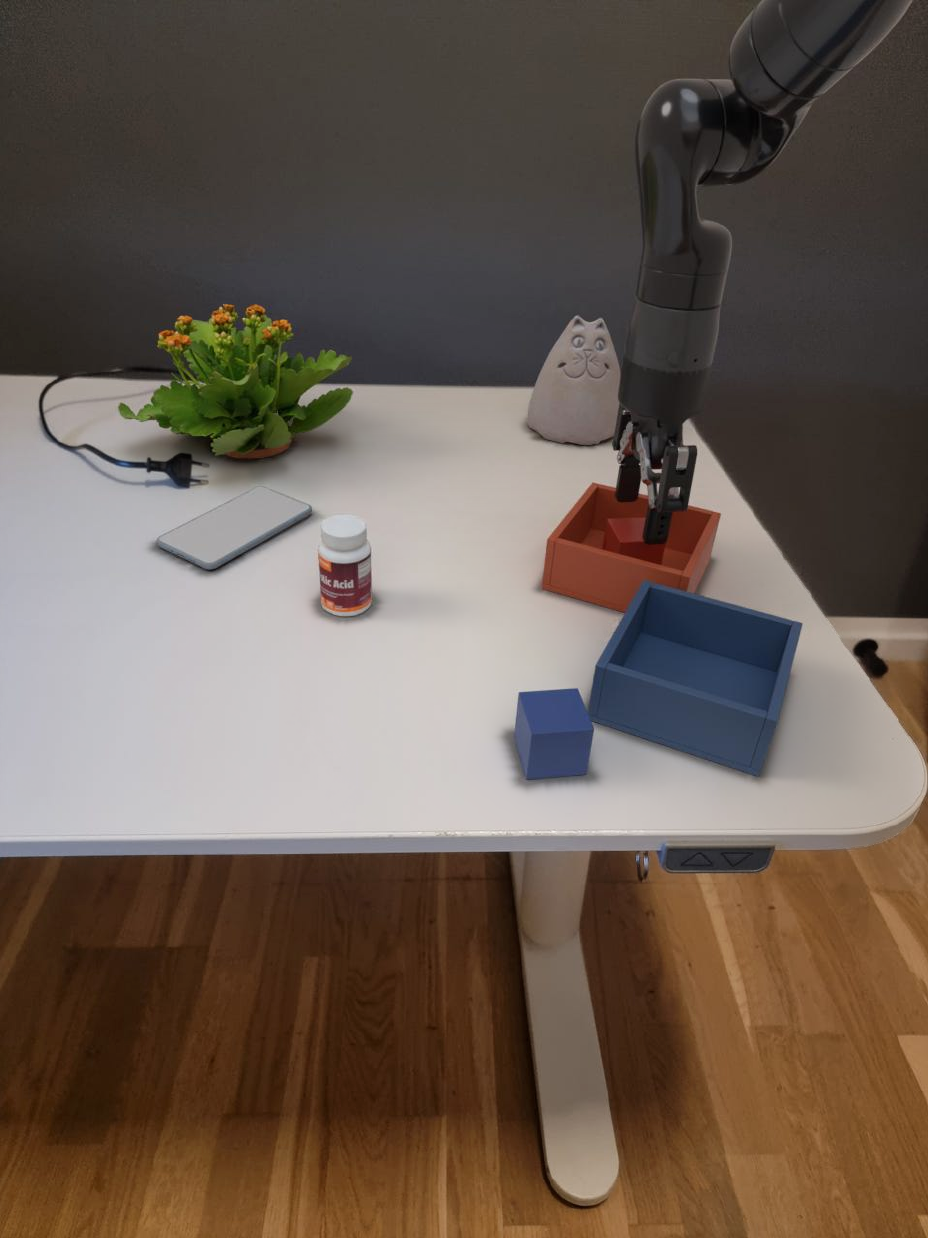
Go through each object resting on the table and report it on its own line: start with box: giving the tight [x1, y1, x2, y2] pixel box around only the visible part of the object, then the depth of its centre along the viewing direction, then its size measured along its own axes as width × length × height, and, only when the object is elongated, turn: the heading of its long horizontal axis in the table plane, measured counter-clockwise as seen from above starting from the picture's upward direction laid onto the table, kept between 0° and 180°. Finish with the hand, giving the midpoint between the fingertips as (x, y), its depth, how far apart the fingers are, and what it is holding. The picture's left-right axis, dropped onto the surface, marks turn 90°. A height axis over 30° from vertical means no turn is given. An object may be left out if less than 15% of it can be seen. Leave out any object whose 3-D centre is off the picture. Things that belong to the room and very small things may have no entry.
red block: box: [602, 517, 666, 565], centre depth 85 cm, size 5×5×5 cm
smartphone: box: [156, 485, 313, 570], centre depth 90 cm, size 8×1×15 cm
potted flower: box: [117, 303, 354, 460], centre depth 103 cm, size 25×24×18 cm
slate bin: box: [587, 580, 803, 777], centre depth 70 cm, size 14×14×6 cm
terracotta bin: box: [541, 482, 722, 613], centre depth 85 cm, size 14×14×6 cm
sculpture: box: [527, 315, 621, 446], centre depth 112 cm, size 13×12×15 cm
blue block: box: [513, 687, 595, 780], centre depth 64 cm, size 5×5×5 cm
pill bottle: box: [317, 513, 373, 617], centre depth 78 cm, size 5×5×8 cm
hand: (639, 520), depth 83 cm, fingers open, 8 cm apart
